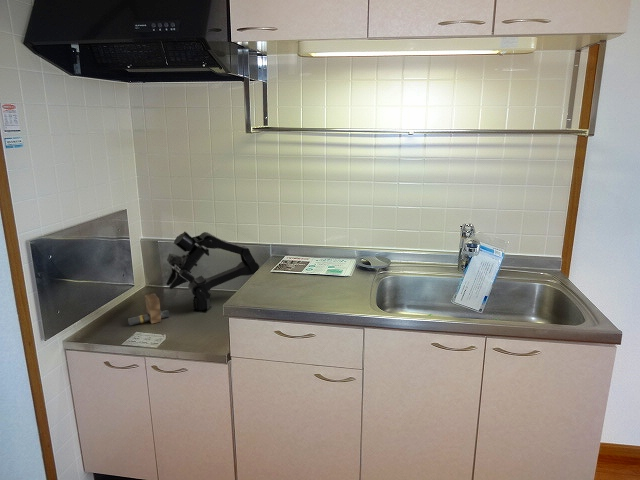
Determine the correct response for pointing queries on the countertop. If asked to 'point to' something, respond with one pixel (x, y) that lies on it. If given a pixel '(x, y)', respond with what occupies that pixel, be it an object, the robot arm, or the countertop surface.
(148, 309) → the rectangular wooden block
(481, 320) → the countertop surface
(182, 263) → the robot arm
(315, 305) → the countertop surface
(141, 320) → the steel pipe
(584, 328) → the countertop surface
